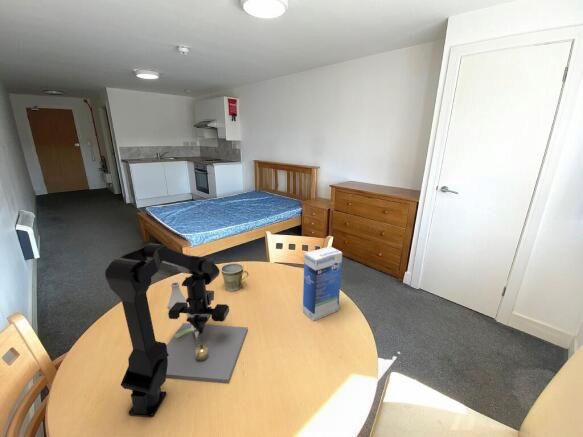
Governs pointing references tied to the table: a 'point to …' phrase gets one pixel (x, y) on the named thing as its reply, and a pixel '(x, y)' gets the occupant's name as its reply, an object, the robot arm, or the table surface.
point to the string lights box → (321, 282)
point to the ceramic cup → (233, 276)
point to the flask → (176, 295)
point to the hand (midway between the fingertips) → (201, 333)
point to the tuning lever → (199, 346)
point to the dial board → (221, 353)
